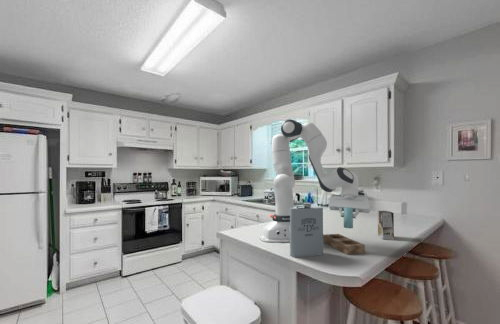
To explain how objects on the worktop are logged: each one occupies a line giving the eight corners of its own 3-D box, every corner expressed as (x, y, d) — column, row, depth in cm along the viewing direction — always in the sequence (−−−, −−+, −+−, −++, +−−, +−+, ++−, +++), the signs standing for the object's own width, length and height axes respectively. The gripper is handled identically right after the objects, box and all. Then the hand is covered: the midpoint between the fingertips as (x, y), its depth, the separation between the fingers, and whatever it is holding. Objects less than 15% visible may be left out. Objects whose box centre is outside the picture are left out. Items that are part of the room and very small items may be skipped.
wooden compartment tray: (347, 254, 113) (347, 246, 113) (323, 241, 134) (323, 234, 134) (364, 253, 115) (364, 245, 115) (338, 240, 137) (338, 233, 137)
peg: (347, 228, 117) (347, 208, 118) (341, 226, 122) (341, 207, 122) (354, 228, 118) (354, 208, 119) (349, 226, 123) (349, 207, 123)
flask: (293, 258, 108) (293, 203, 109) (288, 254, 112) (288, 202, 113) (325, 254, 113) (325, 202, 114) (320, 251, 117) (319, 201, 119)
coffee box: (394, 240, 139) (394, 212, 140) (382, 239, 140) (382, 212, 141) (388, 236, 148) (388, 210, 149) (377, 235, 149) (377, 210, 150)
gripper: (329, 191, 132) (326, 211, 123) (370, 193, 122) (370, 215, 113) (330, 198, 136) (327, 218, 126) (370, 201, 126) (370, 222, 117)
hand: (348, 217), depth 120 cm, fingers closed on peg, 4 cm apart
